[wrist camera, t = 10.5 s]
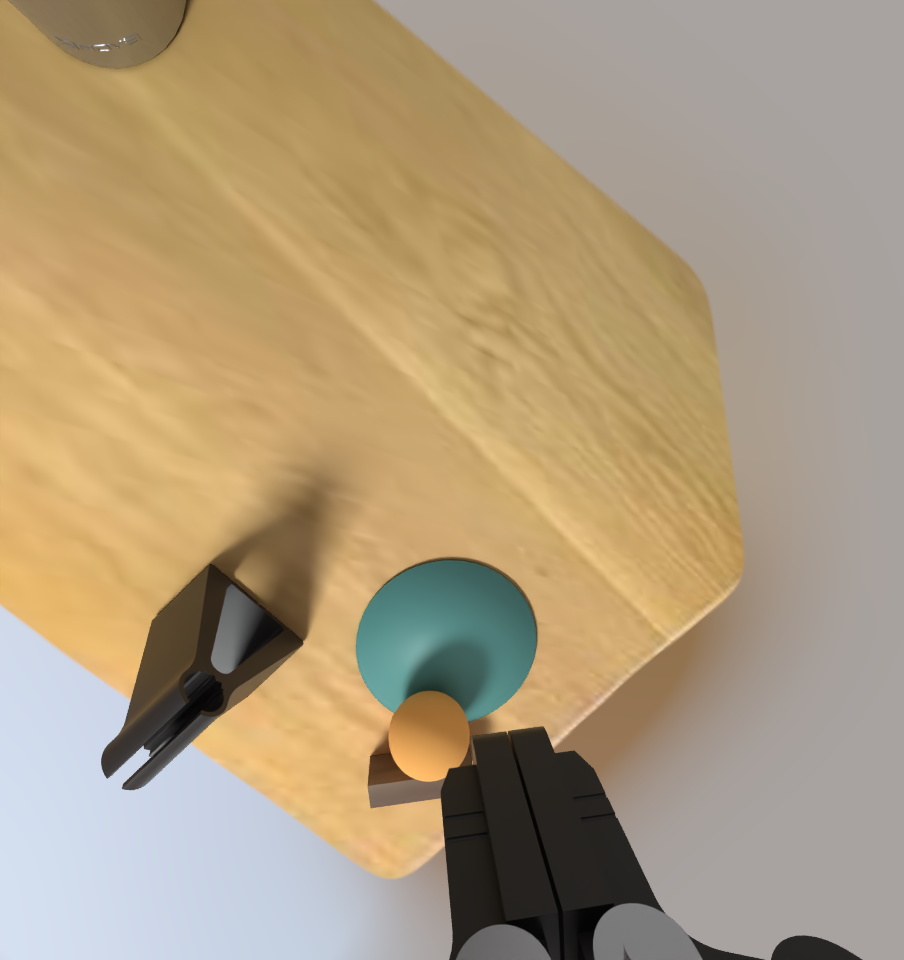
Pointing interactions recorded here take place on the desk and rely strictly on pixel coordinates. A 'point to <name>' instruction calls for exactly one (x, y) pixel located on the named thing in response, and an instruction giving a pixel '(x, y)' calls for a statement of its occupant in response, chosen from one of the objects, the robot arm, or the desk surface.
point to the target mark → (447, 637)
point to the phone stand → (196, 670)
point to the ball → (429, 735)
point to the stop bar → (400, 783)
